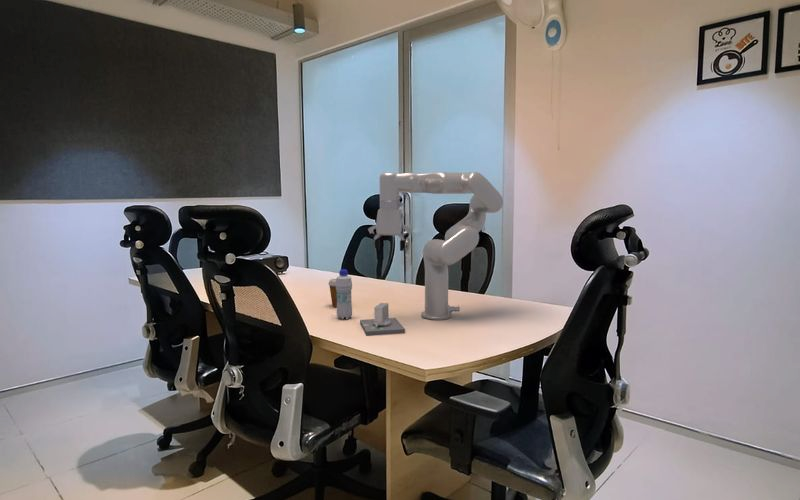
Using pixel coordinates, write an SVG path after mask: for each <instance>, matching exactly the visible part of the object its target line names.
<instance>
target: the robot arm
mask: <svg viewBox="0 0 800 500" xmlns="http://www.w3.org/2000/svg"><path fill="white" fill-rule="evenodd" d="M400 193H401V194H402V193H403V194H405V193H406V194H407V193H410V194H411V193H412V194H416V193H418V194H419V193H420V194H421V193H423V194H424V193H425V194H435V195H437V194H438V195H440V194H443V195H445V194H446V195H448V194H449V195H450V194H452V195H460V194H462V195H463V194H464V195H465V194H468V195H469V194H473V195H472V196H471V197H470V199H469V200H470V201H469V207H468V209H469V210H468V213H467V215H466V216H464V218H462V219H461V220H459V221H457V223H455V224H454V225H453V226H452V225H451V227H450V228H449V229H447V230H446V232H445V235H444V239H437V238H436V239H433V238H432V239H431V240H428V241H427V242H425V244H424V245H423V249H422V258H423V263H424V311H423V312H421V313H420V317H421V318H423V319H425V320H430V321H431V320H432V321H441V320H442V321H443V320H449V319H451V318H452V317H453V314H452V313H453V312H460V309H461V308H460V306H453V305H452V306H450V305H449V267H448V266H451V265H455V263H457V262H459V261H460V260H461V259H463V258H464V257H466V256H467V255H468V254H469V253H470V252H472V251H473V250H474V249H475V248H476V247H477V245H478V244H479V241H480V234H479V233H480V232H481V231H482V230H483V229H484V227H485V224H486V218H487V213H490V214H493V213H494V214H495V213H497V212H500V210H501V209H502V208H503V206H504V205H503V204H504V200H503V199H504V198H503V196H502V194H501V193H500V192H499V191H498V190H497V189H496V188H495V186H494V185H493V184H492V183H491V182H490V181H489V179H488V178H486V176H484V175H483V174H482V173H480V172H477V171H471V172H442V171H440V172H437V171H436V172H430V173H420V174H419V173H414V172H403V173H396V172H383V173H381V174H380V175H379V209H378V210H377V215H376V221H375V222H376V224H374V225H372V226H370V227H369V228H367V230H368V232H369V235H370V236H371V237H372V238H373V240H374V248H375V250H376V251H380V250H381V239H380V238H381V237H382V236H398V237H399V239H400V240H399V251H400V252H403V251H405V249H406V240H407V239H408V238H409V237H410V235H411V233H412V231H413V229H412V228H411V227H409V226H407V225H406V224H404V223H405V222H404V216H403V215H404V214H403V210H402V208H401V207H404V203H403V202H401V201H400ZM374 230H376V231H375V232H376V233H375V232H374ZM405 231H406V232H405ZM404 232H405V234H404Z"/></svg>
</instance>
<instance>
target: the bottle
mask: <svg viewBox="0 0 800 500" xmlns="http://www.w3.org/2000/svg"><path fill="white" fill-rule="evenodd" d="M338 274H339V275H338V276H336V278H335V279H336V290H337V308H336V316H337V318H338V319H339V320H344V319H346V320H348V319H351V318H352V317H353V316H352V315H353V305H352V289H353V282H352V277H351V276H349V272H348V270H347V269H343V268H342V269H340V270H339V273H338Z"/></svg>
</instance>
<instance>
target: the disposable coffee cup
mask: <svg viewBox="0 0 800 500" xmlns="http://www.w3.org/2000/svg"><path fill="white" fill-rule="evenodd" d="M328 286H329V290H330V291H329V292H330V298H331V305H332V308H334V309H335V308H336V309H337V290H336V278H332V279H329V281H328Z"/></svg>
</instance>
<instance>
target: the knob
mask: <svg viewBox="0 0 800 500" xmlns="http://www.w3.org/2000/svg"><path fill="white" fill-rule="evenodd" d="M373 310H374V313H373V314H374V319H375V320H373V321H372V324H373V325H375V326H376V327H378V326H388V325H391V320H389V318H390V317H389V315H390V314H389V302H380V303H378V304H377V305H376V306H375V307H374V309H373Z"/></svg>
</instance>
